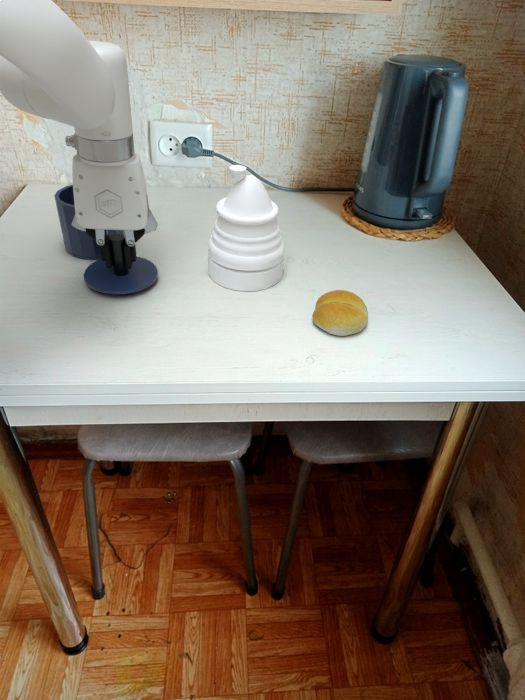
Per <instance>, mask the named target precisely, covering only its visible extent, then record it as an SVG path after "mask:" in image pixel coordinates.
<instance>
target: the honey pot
mask: <svg viewBox="0 0 525 700" xmlns="http://www.w3.org/2000/svg"><path fill="white" fill-rule="evenodd" d="M228 171H229V175H230V177H231V179H233V180H234V181H236V182H235V183H234V184H233V186H232V187H231V189H230V190H229V192H228V194H227V196H225V197H224V198H223V197H222V198H221V199H220V200H219V201H218V202H216V205H215V211H216V214H217V215H218V216H217V218H216V219H215V221H214V223H213V228H212V231H211V235H210V236H209V239H208V242H207V273H208V276H209V277H210V279H211V280H212V281H213V282H214V283H215V284H217V285H219V286H221V287H223V288H225V289H228V290H233V291H237V292H258V291H263V290H267V289H270V288H272V287H274V286H276V284H278V283H279V282H280V281H281V279H282V277H283V268H284V257H285V242H284V240H283V235H282V232H281V225H280V222H279V221H278V218H277V217H278V216H279V213H280V208H279V206H278V205H277V203H275V202H274V201H273V200H272V199H271V197H270V195H269V192H268V191H267V189H266V187H265V186H264V184H263V182H262V181H261V180H260V179H259V178H258V177H256V176H255V175H254V174H247V167H246V166H245V165H242V164H231V165H230V166H229V167H228Z"/></svg>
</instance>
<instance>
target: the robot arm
mask: <svg viewBox="0 0 525 700" xmlns="http://www.w3.org/2000/svg"><path fill="white" fill-rule="evenodd" d="M128 71H129V70H128V62H127V57H126V53H125V51H124V50H123V48H122V47H120V46H119V45H117V44H115V43H113V42H109V41H101V40H89V39H87V37H86V35H84V33H83V32H82V31H81V29H80V28H79V27H78V25H76V23H75V22H74V21H73V19H71V17H70V16H68V14H66V12H65V11H64V10H63V9H61V7H59V5H58V4H56V3H55V2H54V1H53V0H0V93H1V95H2V96H3V97H4V99H5V100H6V101H7V102H8V103H10V104H11V105H12V106H13V107H15V108H16V109H18V110H20V111H22V112H24V113H28V114H30V115H33V116H36V117H40V118H43V119H46V120H51V121H55V122H57V123H60V124H64V125H67V126H71V127H73V128H74V134H71V135H66V136H65V145H66V147H72V148H74V149H75V151H76V154H75V155H74V156H73V157H72V164H71V165H72V166H71V167H72V168H71V169H72V170H71V173H72V175H71V177H72V185H73V193H74V204H75V215H74V218H73V221H72V226H73V227H75V228H77V229H79V230H82V231H85V232H86V233H87V234H89V235H90V236H91V237H92V238H93V239H95V240H96V242H97V244H98V245H100V250H101V257H102V261H105V262H106V268H109V269H110V268H111V267H112V258H111V250H110V242H109V236H108V233H107V230H125V234H126V241H125V242H126V243H125V245H124V253H125V262H126V268H127V269H131V267H132V264H133V262H136V259H137V257H138V256H137V247H136V243H137V242H138V241H139V240H141V238H142V237H143V236H145V235H146V234H149V233H152V232H155V231H157V229H158V226H159V223H158V221H157V219H156V218H155V216H154V214H153V212H152V210H151V209H150V206H149V205H150V204H149V203H150V202H149V195H148V189H147V183H146V177H145V172H144V168H143V164H142V161H141V158H140V155H139V154H138V153H135V142H134V129H133V118H132V108H131V107H132V106H131V95H130V94H131V93H130V84H129V83H130V82H129V72H128Z"/></svg>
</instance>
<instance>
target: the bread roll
mask: <svg viewBox="0 0 525 700" xmlns="http://www.w3.org/2000/svg"><path fill="white" fill-rule="evenodd" d="M314 306H315V307H314V308H315V310H314V311H313V313H312V318H311V319H312V322H313V324H315V325H316V326H317V327H318V328H319V329H322V330H323V331H325V332H326V333H328V334H330V335H333V336H339V337H341V336H342V337H343V336H352V335H354V334H357V333H360V332H362V331H363V330H364V328H365V327H366V326H367V323H368V322H369V311H368V307H367V305H366V303H365V302H364V300H363V298H361V297H360V296H359V295H357V294H356V293H354V292H352V291H349V290H344V289H336V290H335V289H334V290H331V291H328V292H326V293H323V294H322V295H320V296H319V297H318V299H317V300H316V303H315V305H314Z"/></svg>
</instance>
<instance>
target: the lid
mask: <svg viewBox="0 0 525 700" xmlns="http://www.w3.org/2000/svg"><path fill="white" fill-rule="evenodd" d="M109 242H110V250H111V258H112V267H111V268H110V269H109V268H106V262H105V261H102V259H96V260H94V261H93V262H92V263H90V264H89V265H88V266H87V267H86V268H85V269H84V271H83V279H84V283H85V284H86V285H87V287H89V288H91V289H92V290H94V291H96V292H99V293H103V294H106V295H107V294H109V295H126V294H127V295H128V294H133V293H137V292H140V291H143V290H145V289H147V288H149V287H151V286H152V285H153V284H154V283H155V282H156V281H157V280H158V277H159V271H158V268H157V266H156V265H155V263H153V262H152V261H150V260H149V259H147V258H145V257H141V256H137V259H136V262H133V264H132V267H131V269H127V268H126V262H125V253H124V245H125V243H126V242H125V236H124V235H121V234H113V235H111V236H110V237H109Z"/></svg>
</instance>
